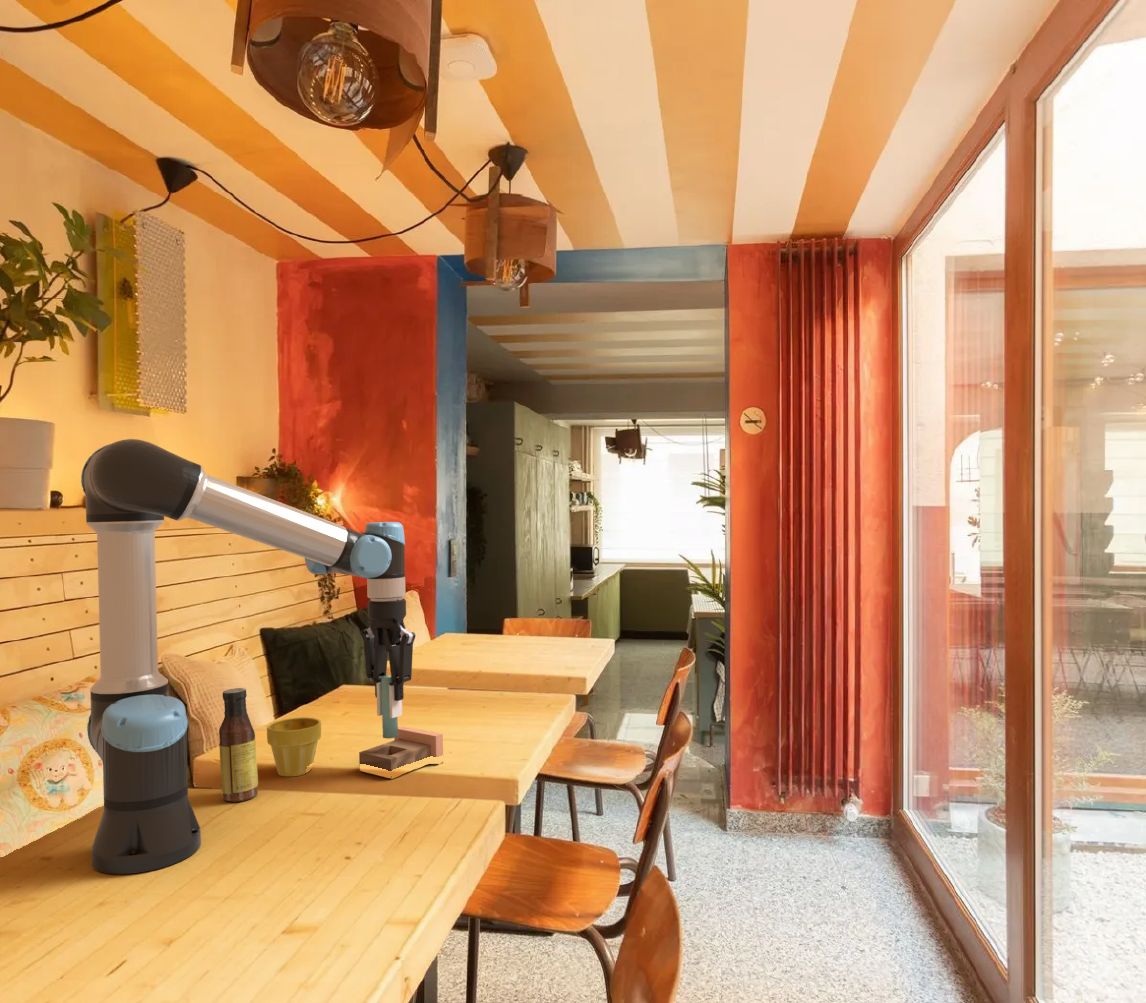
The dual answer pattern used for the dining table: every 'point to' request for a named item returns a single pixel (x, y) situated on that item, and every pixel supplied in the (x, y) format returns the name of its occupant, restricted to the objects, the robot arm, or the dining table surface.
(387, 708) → the dowel
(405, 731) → the wall
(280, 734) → the plant pot
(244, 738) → the sauce bottle
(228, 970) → the dining table surface
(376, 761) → the block
